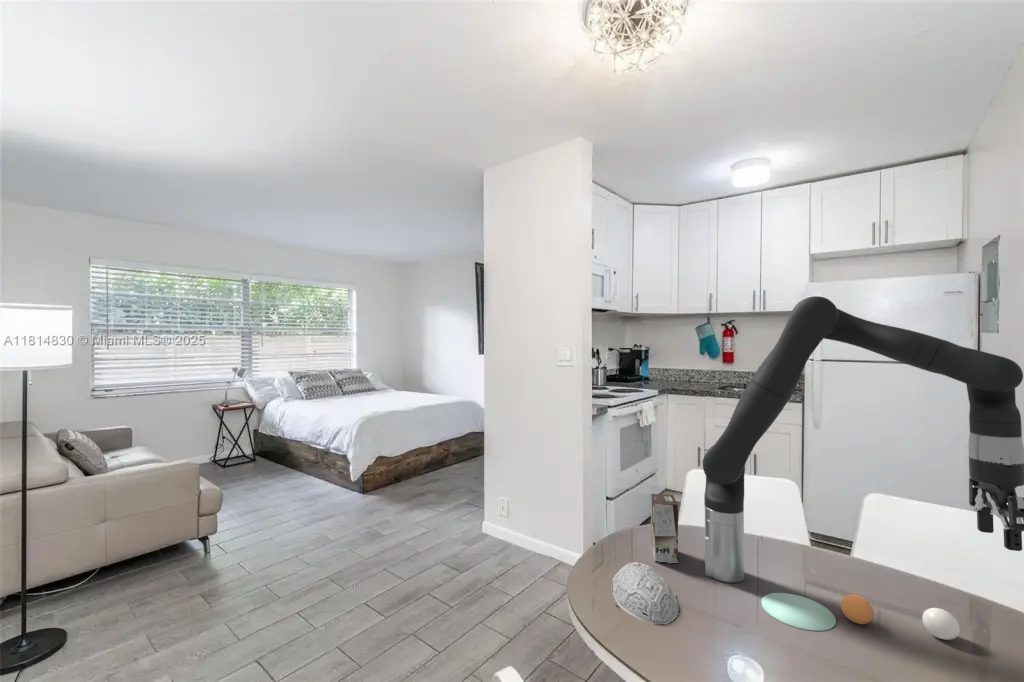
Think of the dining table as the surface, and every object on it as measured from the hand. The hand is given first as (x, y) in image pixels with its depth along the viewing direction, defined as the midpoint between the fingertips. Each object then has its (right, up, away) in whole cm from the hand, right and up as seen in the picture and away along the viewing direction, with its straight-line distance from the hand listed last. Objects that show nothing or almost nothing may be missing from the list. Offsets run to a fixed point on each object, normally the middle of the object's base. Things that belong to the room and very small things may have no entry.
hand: (998, 540), depth 89 cm
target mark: (-32, -21, +12) cm, 40 cm away
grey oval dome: (-64, -22, +19) cm, 70 cm away
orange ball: (-22, -18, +8) cm, 29 cm away
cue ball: (-9, -18, +3) cm, 20 cm away
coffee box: (-52, -22, +39) cm, 69 cm away
